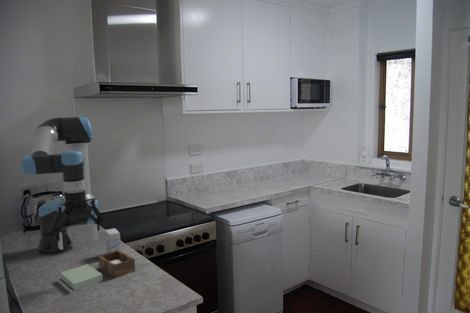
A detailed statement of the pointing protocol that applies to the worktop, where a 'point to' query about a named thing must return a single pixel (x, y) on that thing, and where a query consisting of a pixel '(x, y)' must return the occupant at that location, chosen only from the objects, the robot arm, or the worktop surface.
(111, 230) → the ink box
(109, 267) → the box
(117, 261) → the soap bar
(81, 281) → the lid
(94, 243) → the worktop surface
